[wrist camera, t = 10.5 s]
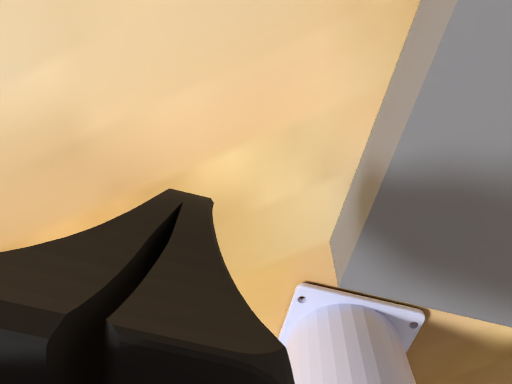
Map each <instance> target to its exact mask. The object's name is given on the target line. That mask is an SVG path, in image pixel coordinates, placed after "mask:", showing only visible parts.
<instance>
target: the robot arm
mask: <svg viewBox="0 0 512 384" xmlns="http://www.w3.org/2000/svg"><path fill="white" fill-rule="evenodd" d="M213 204H214V203H213V201H212V199H211V198H207V197H203V196H199V195H195V194H190V193H186V192H182V191H178V190H174V189H168V190H166V191H164V192H162V193H161V194H159V195H157V196H155V197H154V198H152V199H150V200H149V201H147V202H145V203H143V204H142V205H140V206H138V207H136V208H134V209H132V210H130V211H129V212H127V213H124V214H122V215H120V216H118V217H116V218H114V219H112V220H110V221H107V222H105V223H103V224H101V225H98V226H96V227H93V228H91V229H88V230H85V231H82V232H79V233H76V234H74V235H71V236H67V237H64V238H60V239H57V240H53V241H49V242H45V243H41V244H38V245H34V246H30V247H25V248H20V249H15V250H10V251H5V252H0V384H416V382H415V379H414V376H413V373H412V370H411V367H410V365H409V362H408V359H407V356H406V353H407V351H408V349H409V347H410V346H411V344H412V342H413V340H414V339H415V337H416V335H417V333H418V332H419V330H420V328H421V326H422V325H423V323H424V321H425V315H424V313H423V311H422V310H420V309H416V308H412V307H408V306H403V305H399V304H395V303H390V302H386V301H382V300H377V299H373V298H369V297H364V296H360V295H356V294H351V293H347V292H343V291H338V290H334V289H330V288H325V287H321V286H317V285H312V284H308V283H301V284H299V285H297V287H296V289H295V292H294V295H293V298H292V300H291V303H290V306H289V309H288V312H287V314H286V317H285V320H284V323H283V326H282V329H281V331H280V334H279V337H278V339H277V338H276V337H275V336H274V335H273V333H272V332H271V331H270V330H269V329H268V328H267V327H266V326H265V325H264V324H263V323H262V322H261V321H260V320H259V319H258V317H257V316H256V315H255V314H254V312H253V311H252V310H251V309H250V307H249V306H248V304H247V303H246V301H245V300H244V298H243V297H242V295H241V294H240V292H239V291H238V289H237V287H236V285H235V283H234V282H233V280H232V278H231V276H230V274H229V272H228V269H227V267H226V265H225V263H224V260H223V257H222V255H221V252H220V249H219V246H218V242H217V238H216V234H215V229H214V224H213V216H212V209H213ZM300 296H304V297H305V298H303V299H300V298H299V297H300ZM412 322H415V323H413V324H410V323H412Z"/></svg>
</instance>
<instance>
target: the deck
mask: <svg viewBox="0 0 512 384" xmlns="http://www.w3.org/2000/svg"><path fill="white" fill-rule="evenodd" d="M330 246H331V251H332V256H333V262H334V267H335V272H336V278H337V283H338V287H339V288H344V289H348V290H352V291H357V292H361V293H365V294H370V295H374V296H378V297H382V298H387V299H391V300H395V301H400V302H404V303H408V304H413V305H417V306H421V307H426V308H430V309H434V310H439V311H443V312H447V313H452V314H456V315H460V316H465V317H469V318H473V319H478V320H482V321H486V322H491V323H495V324H499V325H504V326H508V327H512V0H421V2H420V4H419V7H418V9H417V12H416V15H415V17H414V20H413V23H412V25H411V28H410V31H409V33H408V36H407V39H406V41H405V44H404V46H403V49H402V52H401V54H400V57H399V60H398V62H397V65H396V68H395V70H394V73H393V76H392V78H391V81H390V83H389V86H388V89H387V91H386V94H385V97H384V99H383V102H382V105H381V107H380V110H379V113H378V115H377V118H376V120H375V123H374V126H373V128H372V131H371V134H370V136H369V139H368V142H367V144H366V147H365V150H364V152H363V155H362V157H361V160H360V163H359V165H358V168H357V171H356V173H355V176H354V179H353V181H352V184H351V187H350V189H349V192H348V194H347V197H346V200H345V202H344V205H343V208H342V210H341V213H340V216H339V218H338V221H337V224H336V226H335V229H334V231H333V234H332V237H331V239H330Z"/></svg>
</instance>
